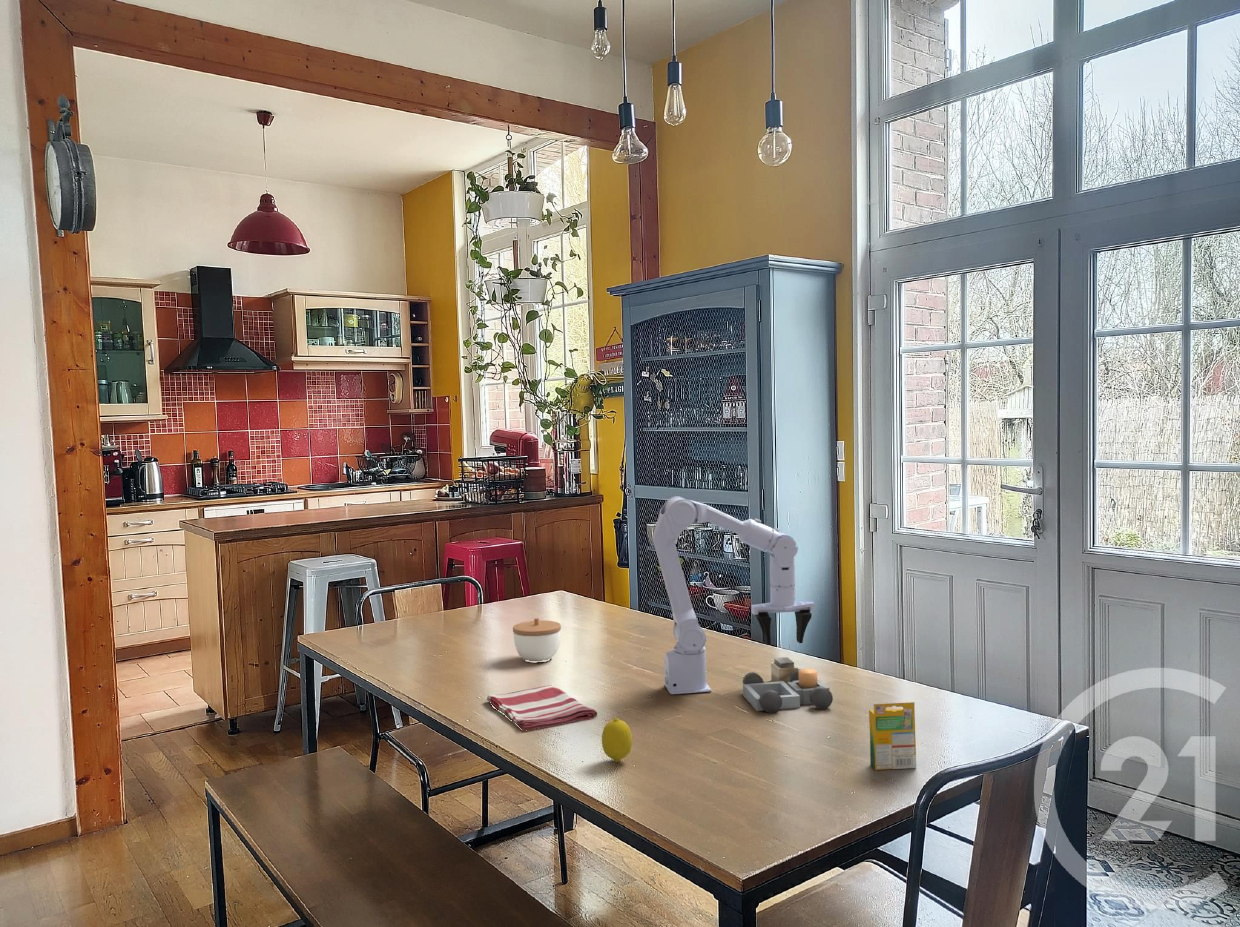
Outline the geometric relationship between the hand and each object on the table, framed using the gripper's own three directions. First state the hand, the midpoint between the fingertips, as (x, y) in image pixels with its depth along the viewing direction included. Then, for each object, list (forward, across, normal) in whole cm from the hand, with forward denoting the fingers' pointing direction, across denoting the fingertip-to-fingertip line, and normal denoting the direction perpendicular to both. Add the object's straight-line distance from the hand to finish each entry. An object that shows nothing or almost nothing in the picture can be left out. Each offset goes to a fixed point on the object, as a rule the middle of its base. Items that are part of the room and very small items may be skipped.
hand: (783, 643), depth 201 cm
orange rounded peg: (+7, +1, -12) cm, 14 cm away
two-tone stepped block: (+10, 0, 0) cm, 10 cm away
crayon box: (+10, +3, -51) cm, 52 cm away
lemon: (+10, -44, -39) cm, 60 cm away
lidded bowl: (+10, -56, +35) cm, 67 cm away
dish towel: (+10, -57, -6) cm, 58 cm away
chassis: (+9, -4, -12) cm, 16 cm away
